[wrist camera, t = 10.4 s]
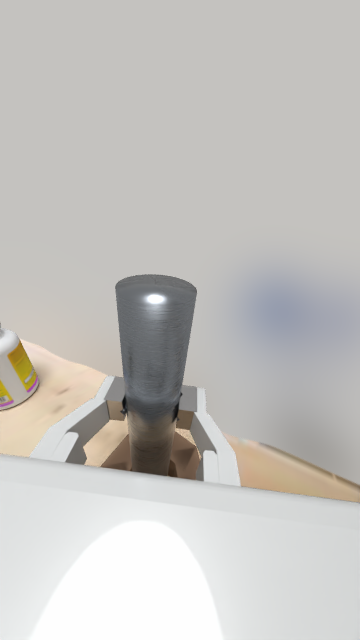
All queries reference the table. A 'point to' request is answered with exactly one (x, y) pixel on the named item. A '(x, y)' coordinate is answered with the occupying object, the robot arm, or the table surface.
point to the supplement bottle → (14, 371)
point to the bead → (181, 458)
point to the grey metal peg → (153, 362)
